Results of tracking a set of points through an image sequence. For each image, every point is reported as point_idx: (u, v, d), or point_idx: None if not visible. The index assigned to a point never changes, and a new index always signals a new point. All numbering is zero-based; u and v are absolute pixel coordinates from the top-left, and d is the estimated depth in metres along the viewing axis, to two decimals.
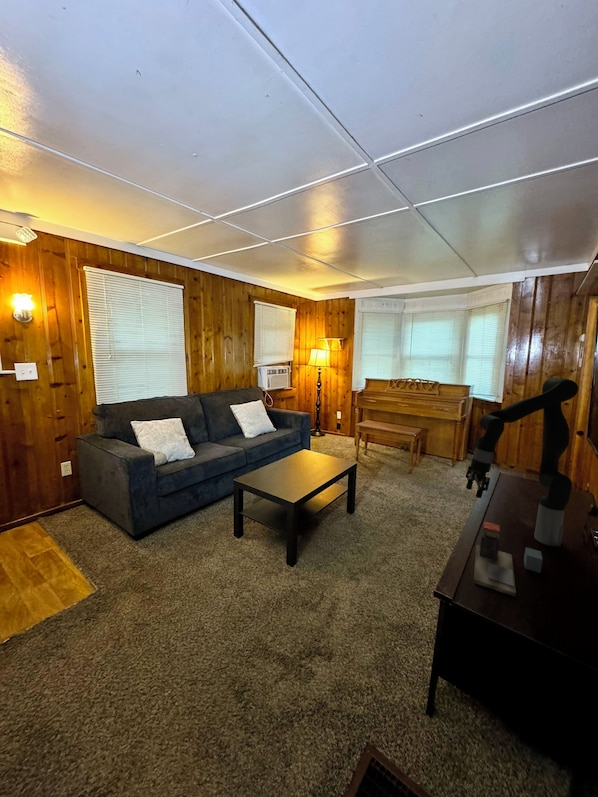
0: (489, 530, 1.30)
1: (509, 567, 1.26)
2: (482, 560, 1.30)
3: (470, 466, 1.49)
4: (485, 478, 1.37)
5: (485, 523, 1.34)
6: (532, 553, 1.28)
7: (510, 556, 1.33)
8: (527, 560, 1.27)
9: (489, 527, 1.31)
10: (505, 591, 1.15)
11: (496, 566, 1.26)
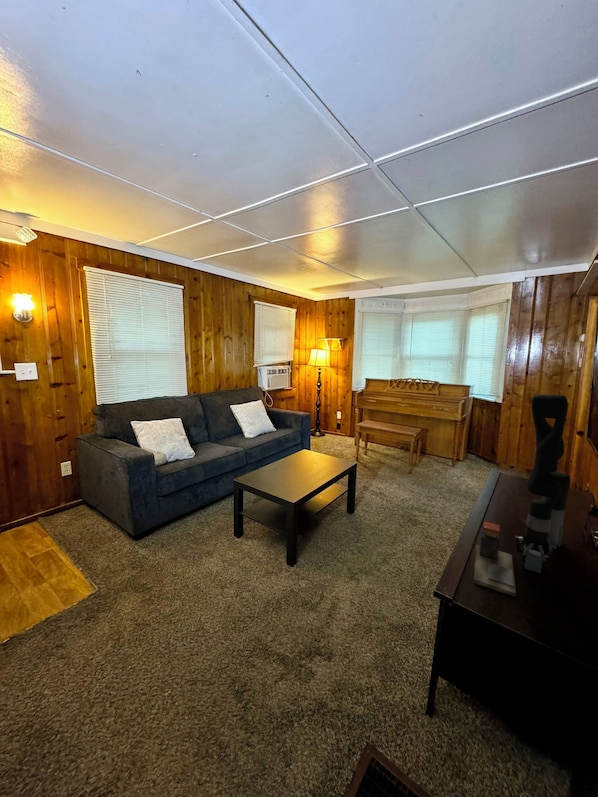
0: (489, 530, 1.30)
1: (509, 567, 1.26)
2: (482, 560, 1.30)
3: (517, 537, 1.30)
4: (556, 549, 1.24)
5: (485, 523, 1.34)
6: (532, 553, 1.28)
7: (510, 556, 1.33)
8: (527, 560, 1.27)
9: (489, 527, 1.31)
10: (505, 591, 1.15)
11: (496, 566, 1.26)
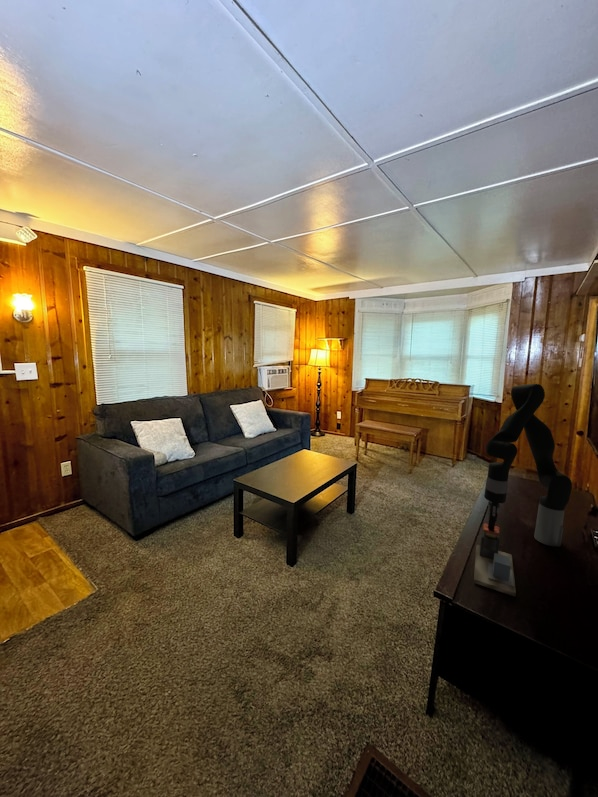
0: (489, 532, 1.31)
1: None
2: (482, 560, 1.30)
3: (496, 513, 1.26)
4: None
5: (485, 525, 1.35)
6: (500, 560, 1.21)
7: (510, 556, 1.33)
8: (495, 567, 1.20)
9: (489, 529, 1.32)
10: (505, 591, 1.15)
11: None
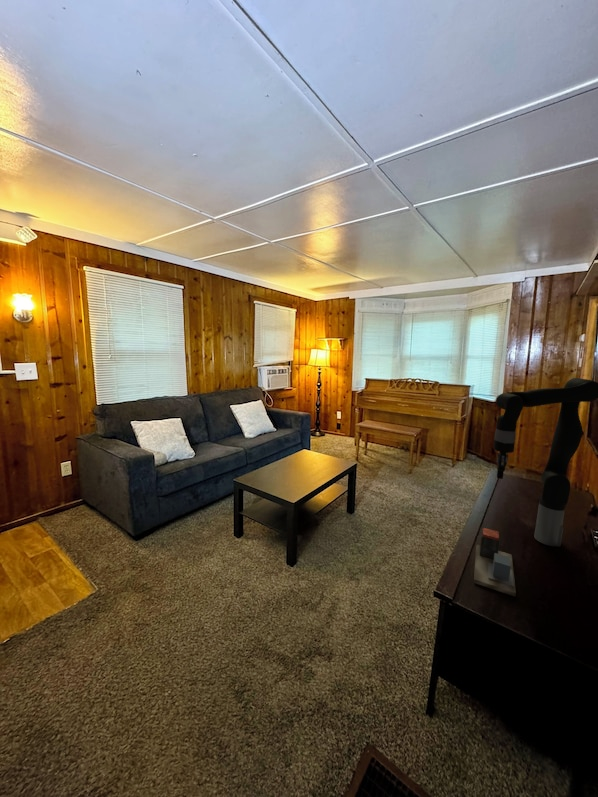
0: (488, 537, 1.31)
1: None
2: (482, 560, 1.30)
3: (504, 462, 1.33)
4: None
5: (484, 530, 1.35)
6: (500, 560, 1.21)
7: (510, 556, 1.33)
8: (495, 567, 1.20)
9: (488, 534, 1.32)
10: (505, 591, 1.15)
11: None
